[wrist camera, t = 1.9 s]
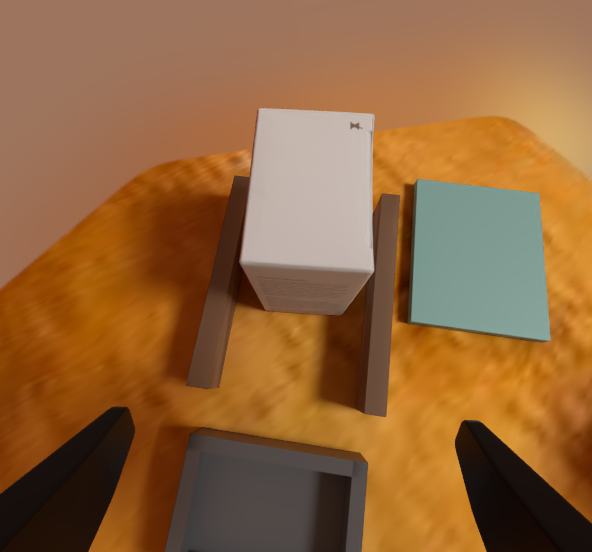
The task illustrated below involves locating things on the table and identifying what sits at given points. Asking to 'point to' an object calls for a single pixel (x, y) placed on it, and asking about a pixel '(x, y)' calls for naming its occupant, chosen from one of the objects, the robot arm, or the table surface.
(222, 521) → the tray
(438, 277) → the pad
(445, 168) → the table surface
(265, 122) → the small box
